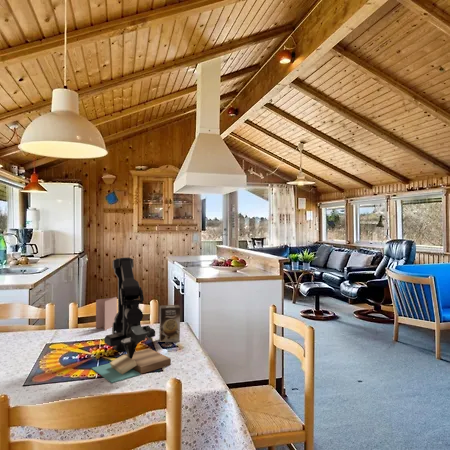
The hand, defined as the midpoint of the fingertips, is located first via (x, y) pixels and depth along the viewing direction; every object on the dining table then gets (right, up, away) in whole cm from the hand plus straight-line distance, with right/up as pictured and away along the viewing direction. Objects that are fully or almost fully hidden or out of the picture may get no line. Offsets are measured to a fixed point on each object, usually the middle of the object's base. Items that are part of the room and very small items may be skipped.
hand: (130, 358), depth 143 cm
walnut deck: (+5, -4, +4) cm, 7 cm away
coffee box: (+10, -4, +33) cm, 35 cm away
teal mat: (-4, -4, -4) cm, 7 cm away
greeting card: (-25, -3, +54) cm, 60 cm away
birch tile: (-2, -2, -2) cm, 4 cm away
